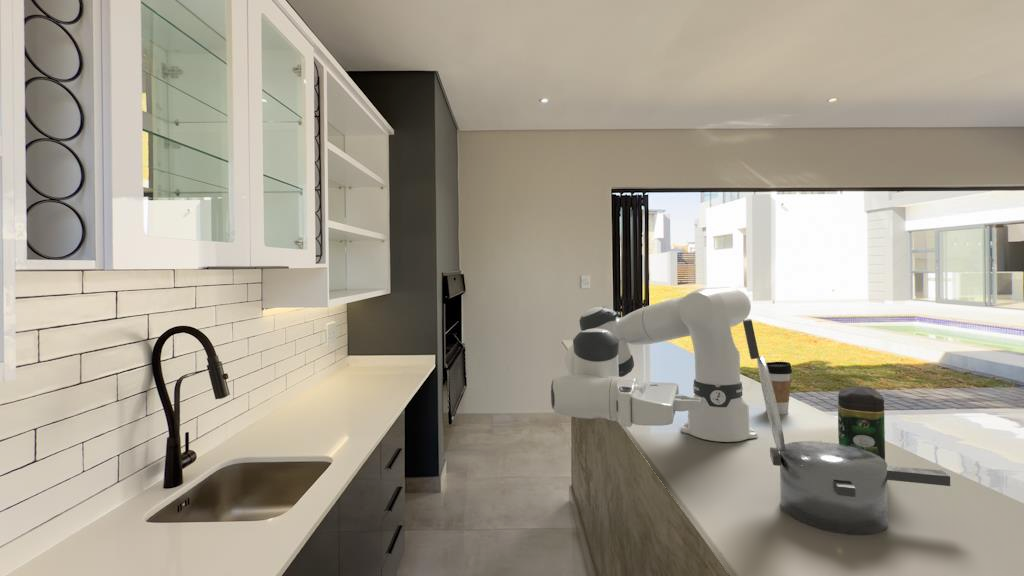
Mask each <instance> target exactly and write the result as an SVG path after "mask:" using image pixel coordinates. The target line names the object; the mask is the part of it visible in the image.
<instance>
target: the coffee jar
mask: <svg viewBox="0 0 1024 576" xmlns="http://www.w3.org/2000/svg"><path fill="white" fill-rule="evenodd" d="M837 397H838V398H837V399H838V400H837V406H838V407H837V427H838V428H837V430H838V434H837V435H838V444H841V445H846V446H851V447H855V448H859V449H862V450H865V451H868V452H871V453H873V454H875V455H877V456H879V457H881V458H882V459H884V460H885V461H886V438H885V435H886V433H885V430H886V429H885V428H886V427H885V399H884V397H883V395H882V394H881V393H880V392H878V391H877V390H875V389H874V388H872V387H871V386H870V387H869V386H859V385H848V386H847V387H844V388H842V389H840V390H839V392H838V396H837Z"/></svg>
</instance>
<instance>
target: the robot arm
mask: <svg viewBox="0 0 1024 576" xmlns="http://www.w3.org/2000/svg"><path fill="white" fill-rule="evenodd" d="M751 305H752V304H751V300H750V298H749V297H748V296H747V295H746V293H744V292H743V291H741V290H739V289H736V288H735V287H730V286H722V287H719V286H718V287H705V288H704V287H703V288H698V289H695V290H693V291H691V292H689V293H688V294H686V295H685V296H680V297H675V298H671V299H668V300H664V301H661V302H658V303H654V304H650V305H646V306H643V307H641V308H638V309H635V310H634V311H632V312H629V313H627V314H626V315H624V316H621V317H619V316H620V315H621V312H620V311H615V310H614V309H612V308H611V307H606V306H597V307H591V308H590V309H588V310H587V311H585V312H584V313H583V314H582V315H581V316H580V318H579V320H578V321H579V327H580V331H579V332H578V333H577V334H576V335H575V337H574V338H573V339H572V344H571V345H570V346H569V347H568V349H567V351H566V353H565V357H564V359H565V360H564V364H565V368H566V371H567V374H568V375H559V376H555V377H553V379H552V380H551V386H550V388H551V389H550V403H551V408H552V409H553V412H554V413H556V414H559V415H563V416H568V417H571V418H572V417H573V418H579V419H587V420H588V419H589V420H593V419H599V418H601V419H606V420H608V421H614V422H618V424H619V426H621V427H626V428H631V427H632V426H633V425H635V426H650V427H651V426H653V427H654V426H655V427H656V426H661V427H662V426H668V425H672V424H673V423H674V418H675V414H676V412H687V420H686V422H684V423H683V425H681V427H680V432H682V433H686V434H688V435H689V434H690V435H692V436H693V437H695V438H699V439H702V440H707V441H713V442H721V443H722V442H724V443H732V442H733V443H734V442H742V441H746V440H748V439H757V438H759V437H758V435H759V434H758V433H757V431H756V430H755V429H754V428H753V427H751V425H750V408H749V407H750V406H749V404H747V402H746V401H745V400H744V399H743V398H742V396H743V389H744V388H743V382H742V381H741V358H740V356H741V354H740V350H739V349H738V348H737V347H736V344H735V342H734V338H733V334H732V331H731V330H732V329H731V328H733V327H736V326H737V325H740V324H741V323H743V320H747V318H748V316H749V315H750V313H751V309H752V306H751ZM687 337H690V338H691V342H692V347H693V351H694V371H695V373H694V374H695V376H694V378H695V379H693V385H692V386H693V393H694V394H693V396H689V395H686V394H680V392H679V385H678V384H677V383H674V382H643V383H639V381H638V378H637V377H631V376H627V375H628V374H630V373H631V372H632V371H633V370H634V367H635V362H634V357H633V355H632V354H631V350H630V348H629V347H630V346H629V345H637V346H639V345H640V346H641V345H642V346H644V345H651V344H653V345H654V344H657V343H663V342H666V341H671V340H677V339H681V338H687Z"/></svg>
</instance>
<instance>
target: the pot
mask: <svg viewBox="0 0 1024 576" xmlns="http://www.w3.org/2000/svg"><path fill="white" fill-rule="evenodd" d="M769 457H770V460H771V462H772V465H773V466H776V467H777V466H778V467H779V473H780V474H779V478H780V479H779V480H780V483H779V484H780V485H779V487H780V488H779V489H780V490H779V492H780V493H779V494H780V497H779V498H780V506H781V509H782V510H783V511H784V512H785V513H786V514H787V515H789V516H790V517H791V518H793V519H794V520H797V521H799V522H801V523H803V524H806V525H808V526H811V527H813V528H816V529H820V530H823V531H828V532H833V533H837V534H845V535H853V536H854V535H857V536H860V535H861V536H865V535H866V536H867V535H874V534H878V533H880V532H883V531H885V530H886V529H887V527H888V524H889V522H888V521H889V519H888V514H889V513H888V481H894V482H895V481H896V482H902V483H903V482H906V483H914V484H915V483H916V484H925V485H926V484H927V485H934V486H944V487H951V476H950V475H949V474H948V473H947V472H946V471H944V470H940V469H939V470H937V469H929V468H917V467H908V466H907V467H906V466H896V465H888V463H887V461H886V459H885V460H884V459H882V458H881V457H879V456H877V455H875V454H873V453H871V452H868V451H865V450H862V449H859V448H855V447H851V446H846V445H841V444H839V443H833V442H824V441H816V440H815V441H812V440H811V441H805V440H803V441H793V442H789V443H788V442H787V443H786V444H785V451H778V450H777V447H771V446H770V448H769ZM884 529H885V530H884Z"/></svg>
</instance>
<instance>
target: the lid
mask: <svg viewBox="0 0 1024 576" xmlns="http://www.w3.org/2000/svg"><path fill="white" fill-rule="evenodd" d="M742 324H743V328H744V333H745V340H746V343H747V348H748V352H749V357H750V359H751V360H755V359H756V361H757V369H758V375H759V379H760V380H759V381H760V386H761V390H762V395H763V400H764V403H765V404H764V405H765V410H766V409H767V411H766V413H767V414H766V415H767V416H768V417H767V418H768V422H769V425H770V428H771V429H770V430H771V433H772V437H773V440H774V444H775V448H777V450H778V451H779V452H780V451H785V437H784V432H783V426H782V421H781V416H780V415H779V410H778V406H777V401H776V397H775V393H774V389H773V385H772V381H771V377H770V374H769V370H768V367H767V363H768V362H767V361H766V358H765V356H764V355H760V354H759V349H758V344H757V340H756V334H755V330H754V326H753V321H752V319H751V318H748V319H745V320H743V321H742Z"/></svg>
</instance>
